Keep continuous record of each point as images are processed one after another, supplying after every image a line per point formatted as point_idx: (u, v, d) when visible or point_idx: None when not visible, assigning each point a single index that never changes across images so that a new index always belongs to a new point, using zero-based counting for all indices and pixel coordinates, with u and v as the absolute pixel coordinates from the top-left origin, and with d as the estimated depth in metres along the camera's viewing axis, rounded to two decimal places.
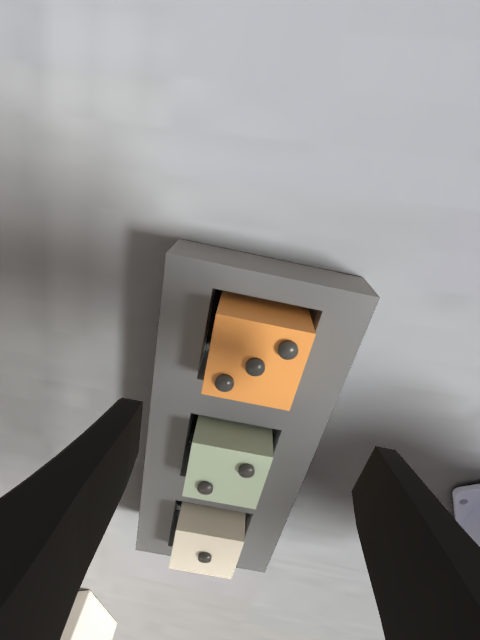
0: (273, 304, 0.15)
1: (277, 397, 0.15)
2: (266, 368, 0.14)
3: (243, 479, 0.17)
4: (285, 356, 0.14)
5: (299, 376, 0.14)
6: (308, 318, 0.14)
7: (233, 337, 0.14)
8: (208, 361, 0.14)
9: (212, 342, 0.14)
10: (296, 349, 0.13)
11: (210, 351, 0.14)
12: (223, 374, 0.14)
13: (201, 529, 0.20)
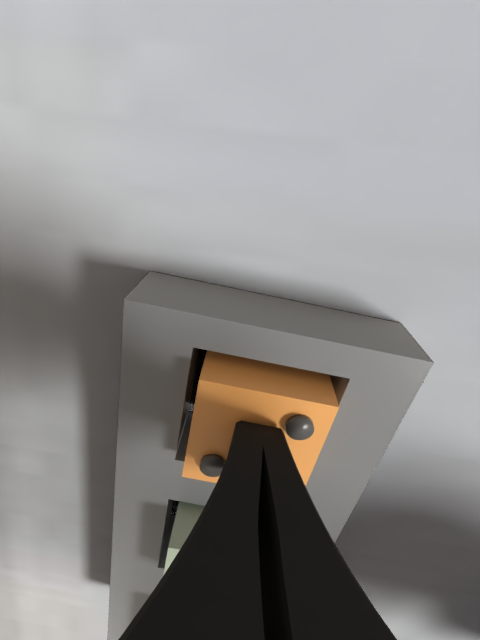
0: None
1: None
2: None
3: None
4: (296, 436, 0.10)
5: (314, 458, 0.10)
6: (326, 378, 0.11)
7: (224, 409, 0.10)
8: (190, 438, 0.10)
9: (195, 415, 0.10)
10: (311, 428, 0.10)
11: (192, 426, 0.10)
12: (211, 455, 0.11)
13: None
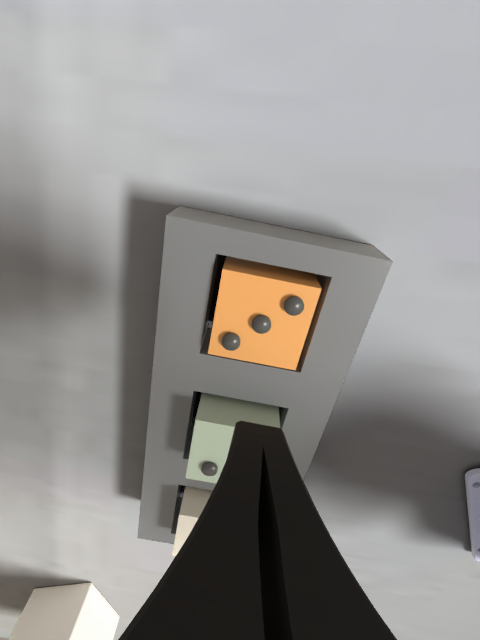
0: None
1: (283, 356, 0.15)
2: (273, 325, 0.14)
3: None
4: (291, 312, 0.14)
5: (305, 333, 0.14)
6: (313, 277, 0.15)
7: (239, 293, 0.14)
8: (215, 319, 0.14)
9: (219, 299, 0.14)
10: (302, 304, 0.14)
11: (217, 308, 0.14)
12: (229, 333, 0.14)
13: None
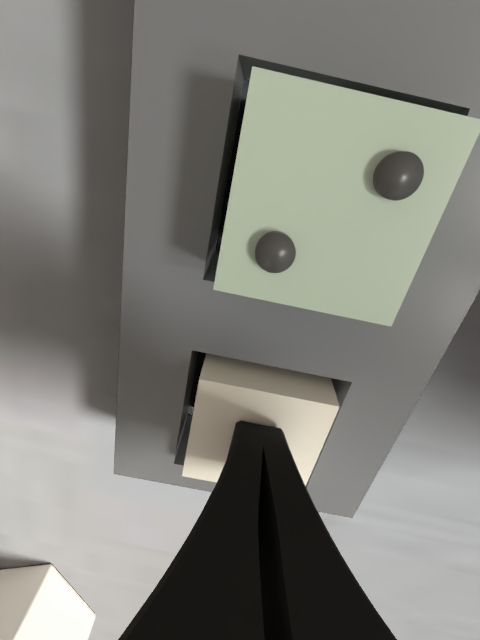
0: None
1: None
2: None
3: (377, 221, 0.07)
4: None
5: None
6: None
7: None
8: None
9: None
10: None
11: None
12: None
13: (250, 383, 0.10)
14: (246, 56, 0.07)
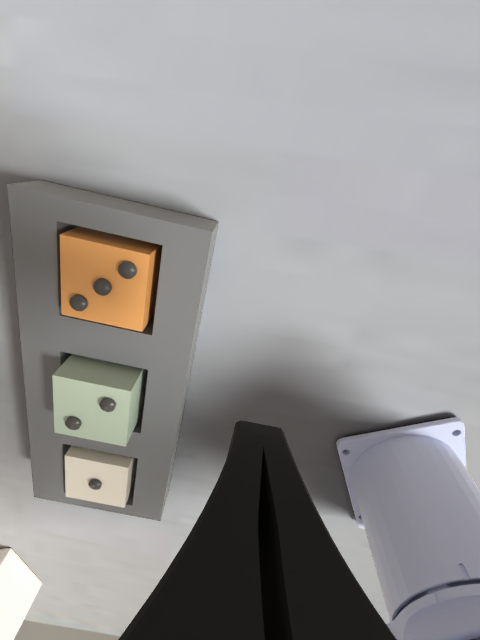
0: None
1: (129, 318, 0.17)
2: (114, 288, 0.16)
3: (107, 415, 0.18)
4: (125, 276, 0.15)
5: (143, 296, 0.16)
6: (154, 246, 0.16)
7: (79, 257, 0.15)
8: (61, 281, 0.16)
9: (61, 262, 0.15)
10: (133, 268, 0.15)
11: (61, 271, 0.16)
12: (76, 294, 0.16)
13: (89, 456, 0.21)
14: (63, 351, 0.18)
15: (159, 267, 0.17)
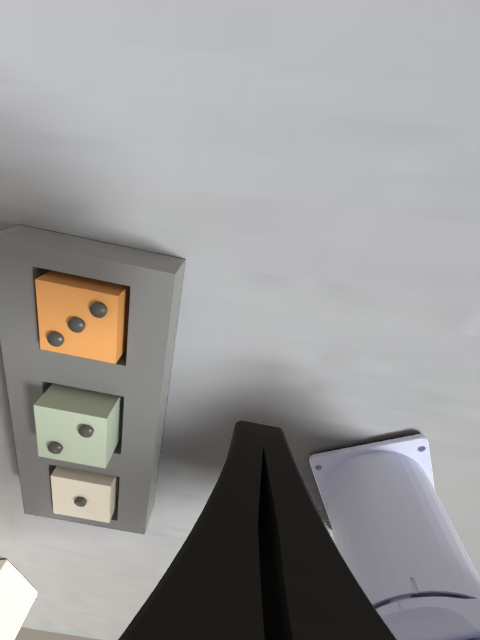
0: None
1: (102, 352, 0.18)
2: (87, 326, 0.17)
3: (86, 440, 0.19)
4: (96, 315, 0.17)
5: (115, 333, 0.17)
6: (124, 286, 0.17)
7: (53, 299, 0.17)
8: (39, 320, 0.17)
9: (38, 303, 0.17)
10: (103, 308, 0.16)
11: (38, 311, 0.17)
12: (53, 331, 0.17)
13: (74, 476, 0.23)
14: (44, 380, 0.20)
15: None
